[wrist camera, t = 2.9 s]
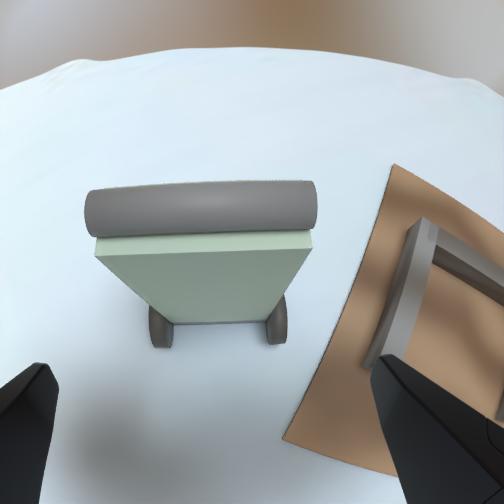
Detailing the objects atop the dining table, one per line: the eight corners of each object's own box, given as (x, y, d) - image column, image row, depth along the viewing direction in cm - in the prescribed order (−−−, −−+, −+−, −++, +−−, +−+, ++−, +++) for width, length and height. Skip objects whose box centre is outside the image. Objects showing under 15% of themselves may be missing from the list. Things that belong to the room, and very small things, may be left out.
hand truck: (280, 345, 19) (369, 295, 7) (161, 349, 18) (41, 304, 6) (273, 251, 21) (323, 94, 9) (161, 255, 20) (85, 105, 8)
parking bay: (490, 492, 15) (509, 497, 12) (282, 438, 17) (289, 448, 14) (544, 267, 22) (560, 259, 20) (392, 165, 24) (405, 146, 22)
